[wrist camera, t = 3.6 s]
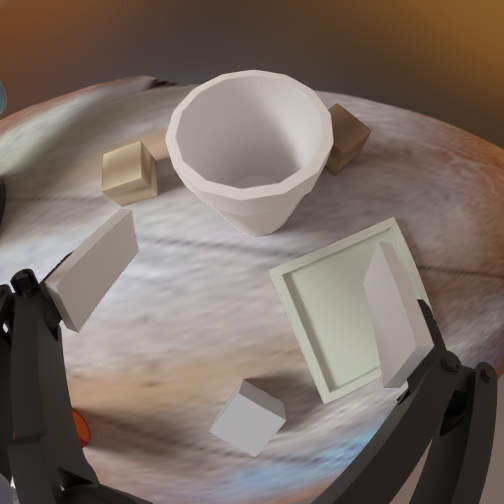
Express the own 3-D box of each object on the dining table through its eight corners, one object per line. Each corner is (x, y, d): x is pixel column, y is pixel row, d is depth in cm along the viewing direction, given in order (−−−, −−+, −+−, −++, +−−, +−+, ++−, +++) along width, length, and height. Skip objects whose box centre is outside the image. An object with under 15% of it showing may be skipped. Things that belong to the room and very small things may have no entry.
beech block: (121, 172, 29) (103, 154, 24) (155, 161, 28) (140, 140, 24) (122, 206, 28) (101, 191, 23) (158, 195, 28) (141, 177, 23)
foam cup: (321, 231, 26) (363, 165, 13) (230, 267, 26) (193, 229, 13) (281, 151, 28) (286, 57, 15) (198, 182, 27) (154, 100, 15)
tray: (269, 272, 25) (269, 269, 23) (385, 222, 25) (393, 216, 23) (320, 397, 23) (324, 404, 21) (430, 336, 23) (440, 337, 21)
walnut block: (303, 148, 28) (308, 123, 23) (329, 128, 28) (337, 103, 24) (334, 175, 27) (344, 153, 22) (359, 153, 27) (371, 130, 23)
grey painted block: (218, 412, 23) (208, 431, 19) (243, 378, 24) (238, 393, 19) (257, 435, 22) (255, 457, 18) (283, 402, 23) (286, 420, 18)
